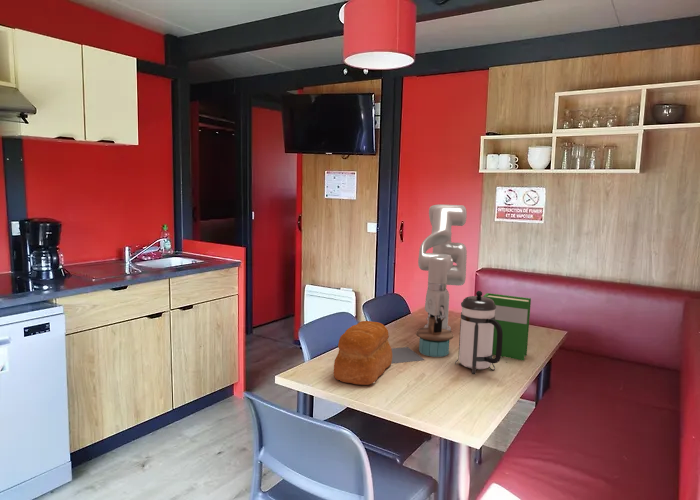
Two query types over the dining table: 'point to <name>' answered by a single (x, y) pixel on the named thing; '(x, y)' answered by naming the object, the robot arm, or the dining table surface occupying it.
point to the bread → (363, 353)
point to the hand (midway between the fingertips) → (434, 329)
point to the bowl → (434, 348)
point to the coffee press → (478, 333)
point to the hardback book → (512, 324)
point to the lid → (431, 335)
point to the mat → (404, 355)
